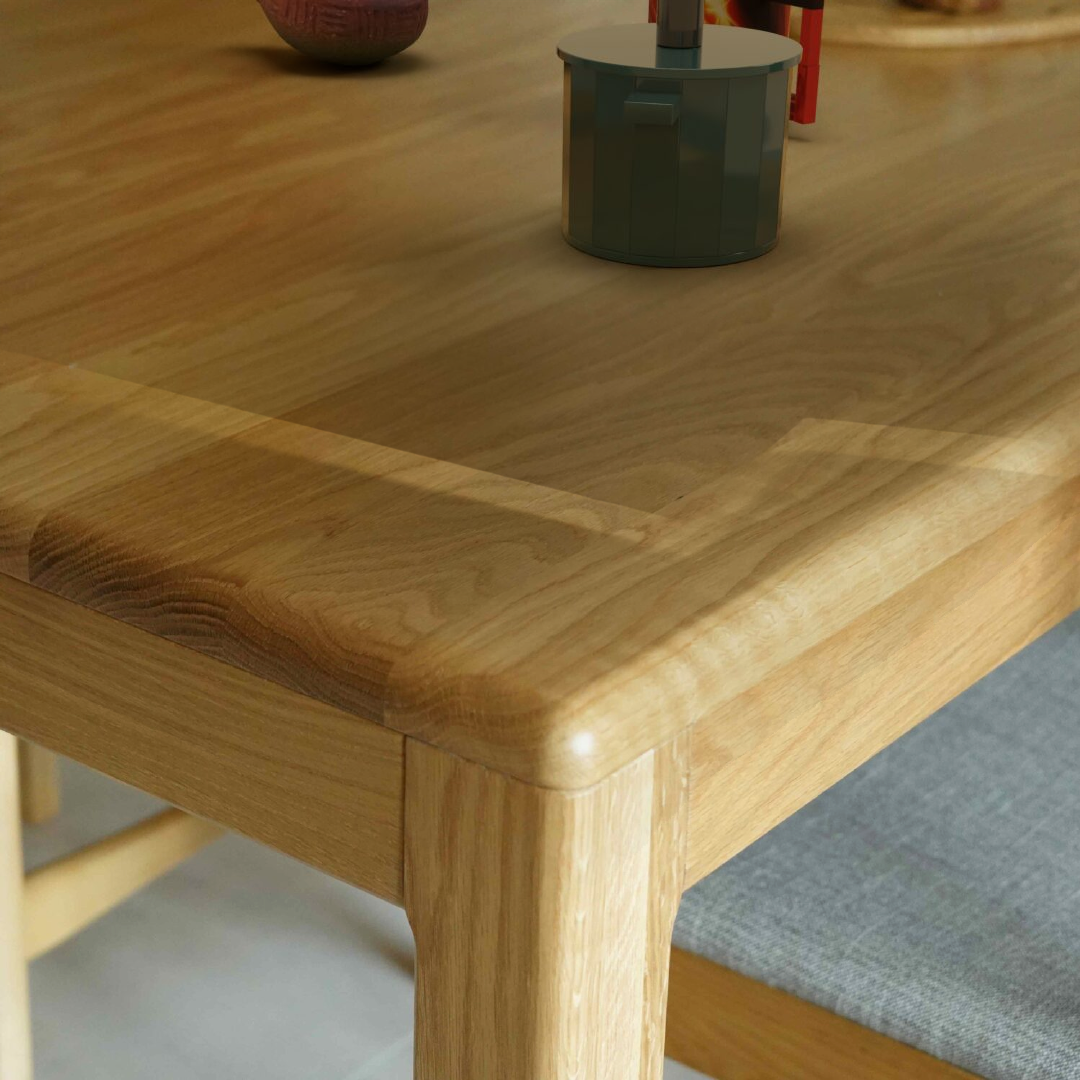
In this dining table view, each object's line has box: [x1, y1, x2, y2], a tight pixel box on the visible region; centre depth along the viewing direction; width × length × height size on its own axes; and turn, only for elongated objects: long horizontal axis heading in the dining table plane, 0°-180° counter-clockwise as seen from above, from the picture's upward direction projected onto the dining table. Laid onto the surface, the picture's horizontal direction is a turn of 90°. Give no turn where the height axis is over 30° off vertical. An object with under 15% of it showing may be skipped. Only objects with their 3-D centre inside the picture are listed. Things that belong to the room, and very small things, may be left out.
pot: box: [561, 61, 794, 268], centre depth 87 cm, size 12×17×10 cm
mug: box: [647, 0, 825, 125], centre depth 111 cm, size 10×14×12 cm
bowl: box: [255, 0, 429, 67], centre depth 128 cm, size 16×13×8 cm
